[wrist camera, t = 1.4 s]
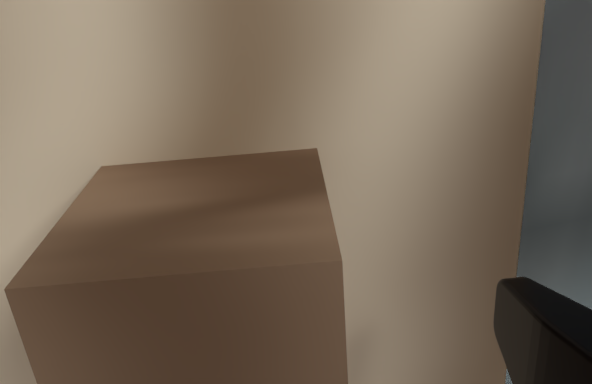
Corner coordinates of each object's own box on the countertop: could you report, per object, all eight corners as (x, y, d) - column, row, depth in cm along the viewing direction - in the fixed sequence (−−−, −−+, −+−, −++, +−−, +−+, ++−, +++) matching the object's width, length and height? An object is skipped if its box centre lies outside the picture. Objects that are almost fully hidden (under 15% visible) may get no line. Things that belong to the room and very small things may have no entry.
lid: (540, -112, 9) (773, -166, 5) (489, 422, 14) (584, 626, 10) (-185, -53, 9) (-589, -56, 5) (20, 463, 14) (-90, 686, 10)
